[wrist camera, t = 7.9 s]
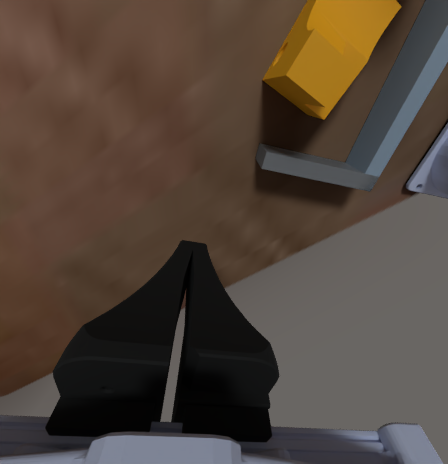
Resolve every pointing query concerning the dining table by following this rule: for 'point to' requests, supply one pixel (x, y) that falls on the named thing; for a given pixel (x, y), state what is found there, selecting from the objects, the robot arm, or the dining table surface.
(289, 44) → the pipe clamp
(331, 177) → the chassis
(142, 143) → the dining table surface
